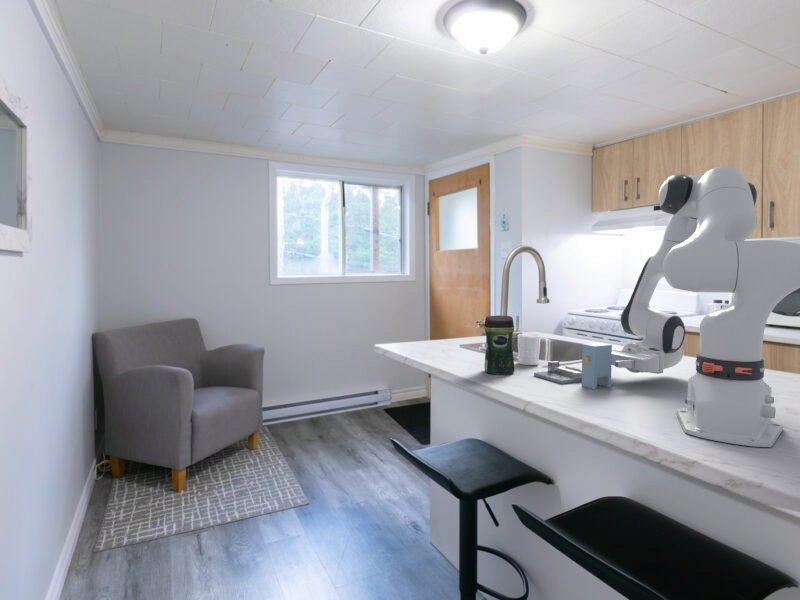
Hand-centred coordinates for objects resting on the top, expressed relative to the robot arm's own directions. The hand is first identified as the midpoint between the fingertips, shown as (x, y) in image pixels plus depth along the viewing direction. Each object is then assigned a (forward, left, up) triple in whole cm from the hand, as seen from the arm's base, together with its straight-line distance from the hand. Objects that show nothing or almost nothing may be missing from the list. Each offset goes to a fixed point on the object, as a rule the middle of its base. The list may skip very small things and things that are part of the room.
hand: (603, 361), depth 133 cm
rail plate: (+4, +12, -7) cm, 14 cm away
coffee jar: (0, +32, -7) cm, 33 cm away
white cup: (+19, +29, -7) cm, 35 cm away
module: (-2, +1, -7) cm, 7 cm away
